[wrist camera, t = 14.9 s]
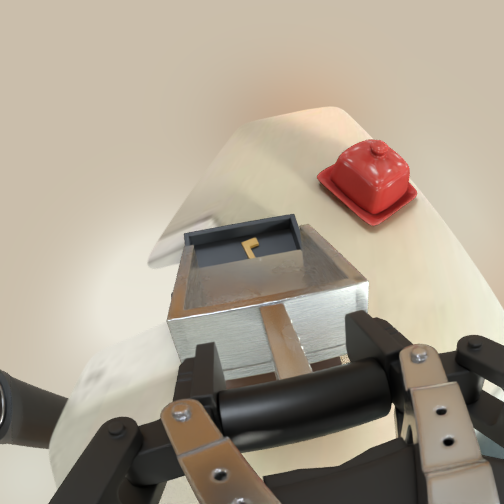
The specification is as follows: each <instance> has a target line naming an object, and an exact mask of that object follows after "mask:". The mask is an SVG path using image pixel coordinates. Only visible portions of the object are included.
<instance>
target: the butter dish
mask: <svg viewBox="0 0 504 504" xmlns="http://www.w3.org/2000/svg"><path fill="white" fill-rule="evenodd" d="M409 174H410V169H409V166H408V164H407V163H406V162H405V161H404V159H403V158H401V156H399V155H398V154H397V153H396V152H395V151H393V150H392V149H391V148H389V147H388V145H387V144H386V143H385V142H383V141H381V140H365V141H362V142H359V143H357V144H355V145H353V146H351V147H350V148H348V149H347V150H345V151H344V152H343V153H342V154H341V155H340V156H339V158H338V159H337V161H336V163H335V164H333V165H331V166H330V167H328V168H326V169H325V170H323V171H322V172H320V173H319V174H318V175H317V179H318V180H319V181H320V182H321V183H322V184H323V185H324V186H325V187H326V188H327V189H328V190H330V191H331V192H332V193H333V194H334V195H335V196H336V197H337V198H339V199H340V200H341V201H342V202H343V203H344V204H345V205H346V206H348V207H349V208H350V209H351V210H352V211H353V212H354V213H355V214H356V215H357V216H359V217H360V218H361V219H362V220H363V221H365V222H366V223H367V224H369V225H372V226H375V225H378V224H380V223H381V222H383V221H384V220H386V219H387V218H388V217H390V216H391V215H392V214H394V213H395V212H397V211H398V210H399V209H401V208H402V207H403V206H405V205H406V204H407V203H409V202H410V201H411V200H413V199H414V198H415V197H416V196H417V191H416V189H415V188H414V187H413V186H412V185H411V184H410V183H409Z"/></svg>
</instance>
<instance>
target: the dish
mask: <svg viewBox="0 0 504 504" xmlns="http://www.w3.org/2000/svg"><path fill="white" fill-rule="evenodd" d="M300 235H301V245H302V251H301V250H294V251H289V252H284V253H278V254H273V255H267V256H262V257H257V258H251V259H246V260H240V261H235V262H230V263H224V264H219V265H213V266H208V267H202V268H199V266H198V261H197V257H196V252H195V248H194V245H190V246H185V247H184V249H183V253H182V257H181V261H180V265H179V269H178V273H177V278H176V282H175V286H174V290H173V295H172V299H171V304H170V308H169V312H168V317H167V324H168V327H169V330H170V333H171V336H172V339H173V341H174V344H175V347H176V350H177V353H178V356H179V358H180V361H181V364H182V362H183V361H184V360H185V359H186V358H192V357H195V352H196V345H197V344H204V343H210V342H215V343H216V346H217V350H218V354H219V358H220V362H221V365H222V369H223V373H224V377H225V381H226V380H232V379H238V378H243V377H249V376H254V375H260V374H265V373H270V372H275V376H276V381H271V382H266V383H261V384H256V385H250V386H245V387H239V388H233V389H227V390H221V391H219V392H218V397H217V404H218V414H219V420H220V426H221V431H222V435H223V437H226V436H228V437H229V438H230V439H231V441H232V442H233V443H234V445H235V446H236V447H237V449H238V450H239V451H240V453H244V452H250V451H256V450H262V449H268V448H273V447H278V446H283V445H288V444H292V443H297V442H301V441H305V440H309V439H313V438H317V437H321V436H325V435H328V434H332V433H335V432H339V431H342V430H346V429H349V428H352V427H355V426H358V425H361V424H364V423H367V422H370V421H373V420H376V419H379V418H382V417H384V416H386V415H387V414H388V413H389V412H390V409H391V405H392V395H391V388H390V383H389V380H388V377H387V374H386V372H385V370H384V368H383V366H382V364H381V363H380V362H379V360H378V359H376V358H375V357H367V358H363V359H360V360H357V361H353V362H350V363H346V364H343V365H339V366H335V367H331V368H328V369H324V370H320V371H316V372H313V371H312V368H311V366H310V364H311V363H315V362H319V361H323V360H327V359H331V358H334V357H338V356H342V355H346V354H347V350H346V335H345V315H346V314H347V313H351V312H355V311H359V310H364V311H365V312H366V313H368V289H369V281H368V280H367V279H366V278H365V277H364V276H363V275H362V274H361V273H360V272H359V271H358V270H357V269H356V268H355V267H354V266H353V265H352V264H351V263H350V262H349V261H347V260H346V259H345V258H344V257H343V256H342V255H341V254H340V253H339V252H338V251H337V250H336V249H335V248H334V247H333V246H332V245H331V244H330V243H329V242H327V241H326V240H325V239H324V238H323V237H322V236H321V235H320V234H319V233H318V232H317V231H316V230H315V229H314V228H312V227H311V226H310V225H309V224H306V225H300Z"/></svg>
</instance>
